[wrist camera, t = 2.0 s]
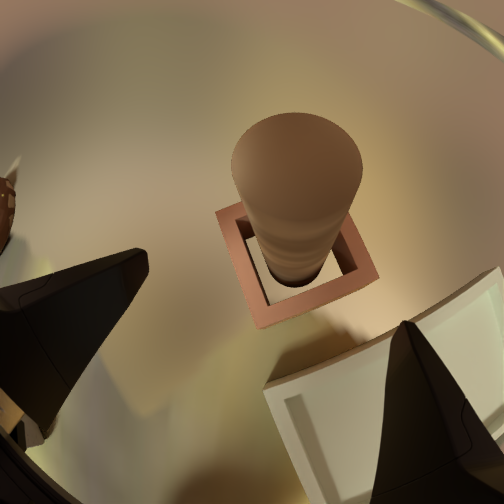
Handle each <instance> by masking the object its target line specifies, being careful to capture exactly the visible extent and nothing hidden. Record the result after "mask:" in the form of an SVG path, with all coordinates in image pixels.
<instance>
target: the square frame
mask: <svg viewBox="0 0 504 504" xmlns="http://www.w3.org/2000/svg"><path fill="white" fill-rule="evenodd" d="M215 213H216V216H217V219H218V222H219V225H220V228H221V231H222V234H223V237H224V239H225V242H226V245H227V248H228V251H229V254H230V256H231V259H232V262H233V265H234V268H235V270H236V273H237V276H238V279H239V282H240V284H241V287H242V290H243V293H244V295H245V298H246V301H247V304H248V306H249V309H250V312H251V315H252V317H253V320H254V323H255V325H256V328H257V329H266V328H268V327H271V326H274V325H276V324H279V323H281V322H284V321H287V320H289V319H292V318H294V317H297V316H299V315H302V314H304V313H307V312H309V311H311V310H314V309H316V308H319V307H321V306H323V305H326V304H328V303H330V302H333V301H335V300H337V299H340V298H342V297H344V296H346V295H349V294H351V293H353V292H355V291H357V290H360V289H362V288H364V287H365V286H367V285H369V284H370V283H372V282H374V281H375V280H377V279H379V275H378V273H377V271H376V269H375V266H374V264H373V262H372V260H371V257H370V255H369V253H368V251H367V249H366V247H365V245H364V242H363V240H362V238H361V236H360V234H359V232H358V230H357V228H356V226H355V224H354V222H353V220H352V218H351V216H350V214H349V212H348V213H347V215H346V218H345V220H344V222H343V224H342V226H341V229H340V231H339V233H338V235H337V237H336V239H335V242H334V244H333V246H332V248H331V249H332V251H333V254H334V256H335V258H336V260H337V263H338V265H339V267H340V269H341V272H342V274H343V276H341V277H339V278H336V279H334V280H332V281H329V282H327V283H325V284H322V285H320V286H318V287H315V288H313V289H310V290H308V291H305V292H303V293H300V294H298V295H296V296H293V297H290V298H288V299H285V300H283V301H280V302H278V303H275V304H273V305H270V303H269V301H268V298H267V296H266V293H265V290H264V288H263V285H262V282H261V280H260V277H259V275H258V272H257V269H256V267H255V264H254V261H253V259H252V256H251V254H250V251H249V248H248V246H247V243H246V239H249V238H251V237H253V236H255V233H254V231H253V228H252V225H251V223H250V220H249V218H248V215H247V213H246V210H245V208H244V205H243V202H242V201H241V202H239V203H236V204H234V205H231V206H229V207H226V208H224V209H221V210H219V211H216V212H215Z"/></svg>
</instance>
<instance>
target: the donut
mask: <svg viewBox="0 0 504 504" xmlns="http://www.w3.org/2000/svg"><path fill="white" fill-rule="evenodd" d="M15 196H16V194H15V191H14V189H13V186H12V185H11V183H10V181H9V180H8V179H5V178H1V177H0V253H1V251H2V249H3V247H4V245H5V243H6V241H7V238H8V236H9V233H10V230H11V227H12V223H13V219H14V214H15Z"/></svg>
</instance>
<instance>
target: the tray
mask: <svg viewBox="0 0 504 504" xmlns="http://www.w3.org/2000/svg"><path fill="white" fill-rule="evenodd" d="M408 321H411V322H414V323H415V324H416V325H417V327H418V328H419V329H420V331H421V332H422V333H423V335H424V336H425V337H426V339H427V340H428V341H429V343H430V344H431V346H432V347H433V348H434V350H435V351H436V353H437V354H438V355H439V357H440V358H441V360H442V361H443V363H444V364H445V365H446V367H447V368H448V370H449V371H450V373H451V374H452V376H453V377H454V379H455V380H456V382H457V383H458V385H459V386H460V388H461V390H462V391H463V393H464V394H465V396H466V398H467V399H468V401H469V402H470V404H471V405H472V407H473V409H474V410H475V412H476V413H477V415H478V417H479V418H480V420H481V421H482V423H483V424H484V426H485V427H486V429H487V430H488V431H489V433H490V434H491V436H492V437H493V439H494V440H496V439H497V438H498V437H499V436H500V435H501V434H503V433H504V278H503V276H502V273H501V270H500V267H499V266H498V267H495V268H493V269H490V270H488V271H485V272H483V273H482V274H480V275H479V276H477V277H476V278H475V279H473V280H472V281H470V282H469V283H468V284H466V285H465V286H463V287H462V288H460V289H459V290H458V291H456V292H454V293H453V294H451V295H450V296H448V297H447V298H445V299H443V300H442V301H440V302H439V303H437V304H436V305H434V306H432V307H430V308H429V309H427V310H425V311H424V312H422V313H420V314H419V315H417V316H415V317H413V318H412V319H410V320H408ZM398 327H399V326H397V327H395V328H393V329H392V330H390V331H388V332H386V333H384V334H382V335H380V336H378V337H376V338H374V339H372V340H370V341H368V342H366V343H364V344H362V345H360V346H357V347H355V348H353V349H351V350H349V351H347V352H344V353H342V354H340V355H338V356H335V357H333V358H331V359H328V360H326V361H324V362H321V363H319V364H316V365H314V366H311V367H309V368H306V369H304V370H301V371H298V372H296V373H293V374H290V375H288V376H285V377H282V378H279V379H276V380H273V381H270V382H267V383H266V384H265V386H264V388H263V390H262V391H263V394H264V396H265V399H266V401H267V404H268V406H269V409H270V411H271V414H272V416H273V418H274V421H275V423H276V426H277V428H278V431H279V433H280V435H281V438H282V440H283V443H284V445H285V447H286V450H287V452H288V454H289V457H290V459H291V461H292V464H293V466H294V468H295V470H296V473H297V475H298V477H299V479H300V482H301V484H302V486H303V488H304V490H305V493H306V495H307V497H308V499H309V501H310V504H369V503H370V499H371V495H372V490H373V485H374V480H375V474H376V469H377V462H378V456H379V449H380V441H381V432H382V422H383V410H384V395H385V381H386V374H387V366H388V358H389V350H390V342H391V339H392V337H393V335H394V333H395V332H396V330H397V328H398Z"/></svg>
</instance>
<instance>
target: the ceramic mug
mask: <svg viewBox="0 0 504 504" xmlns="http://www.w3.org/2000/svg"><path fill="white" fill-rule="evenodd" d="M21 420H22V421H23V422H24V424H25V437H26V447H27V448H29V447H35V446H39V445H42V444H43V443H44V439H43V436H42V434H41V432H40V429H39V427H38V425H37V424H36V423H35V422H34V421H33V420H32V419H31V418H30V417H29V416H27V415H26V414H25V415H24V416H23V418H22V419H21Z"/></svg>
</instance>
